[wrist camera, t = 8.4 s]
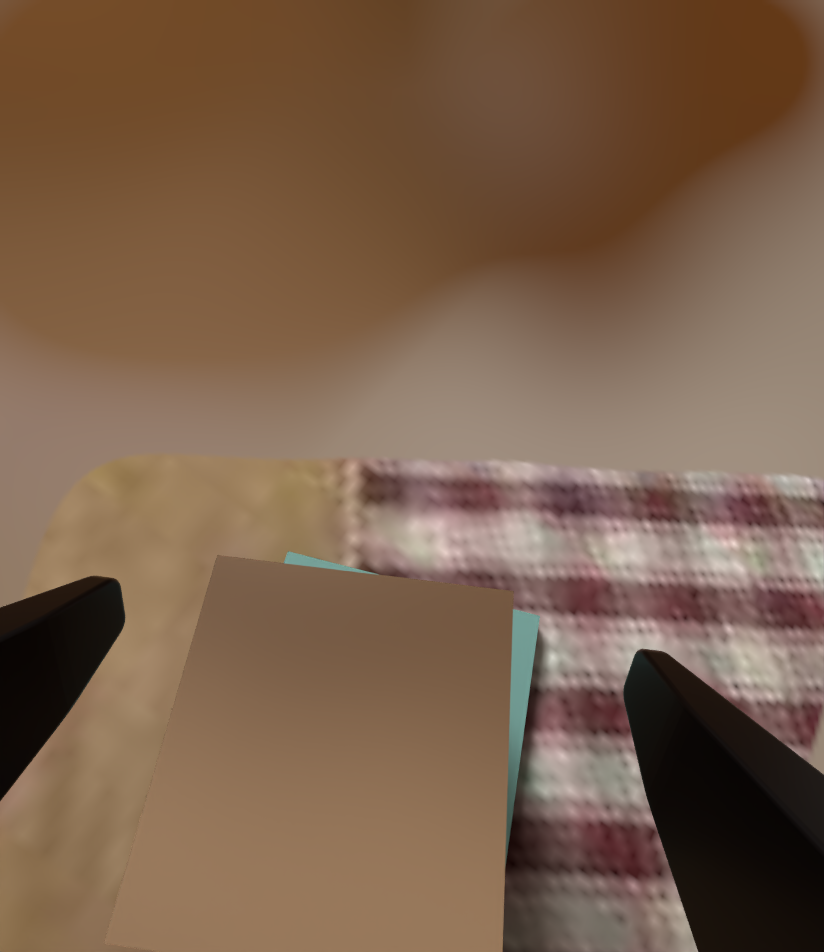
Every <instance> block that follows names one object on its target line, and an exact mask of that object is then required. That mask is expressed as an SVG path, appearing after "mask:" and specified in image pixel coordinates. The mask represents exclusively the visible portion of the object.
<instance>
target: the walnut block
mask: <svg viewBox="0 0 824 952" xmlns="http://www.w3.org/2000/svg"><path fill="white" fill-rule="evenodd" d="M513 594H514V591H507V590H499V589H491V588H483V587H475V586H466V585H458V584H450V583H442V582H434V581H425V580H417V579H409V578H401V577H393V576H384V575H376V574H368V573H360V572H352V571H343V570H335V569H327V568H319V567H311V566H302V565H294V564H286V563H278V562H270V561H261V560H253V559H245V558H237V557H229V556H220V555H217V558H216V561H215V565H214V568H213V571H212V575H211V578H210V582H209V585H208V588H207V592H206V595H205V599H204V602H203V606H202V609H201V612H200V616H199V619H198V623H197V626H196V629H195V633H194V636H193V640H192V643H191V647H190V650H189V653H188V657H187V660H186V664H185V667H184V670H183V674H182V677H181V681H180V684H179V688H178V691H177V694H176V698H175V701H174V705H173V708H172V711H171V715H170V718H169V722H168V725H167V729H166V732H165V735H164V739H163V742H162V746H161V749H160V752H159V756H158V759H157V763H156V766H155V770H154V773H153V776H152V780H151V783H150V787H149V790H148V793H147V797H146V800H145V804H144V807H143V810H142V814H141V817H140V821H139V824H138V828H137V831H136V834H135V838H134V841H133V845H132V848H131V851H130V855H129V858H128V862H127V865H126V869H125V872H124V875H123V879H122V882H121V886H120V889H119V892H118V896H117V899H116V903H115V906H114V910H113V913H112V916H111V920H110V923H109V927H108V930H107V933H106V937H105V940H104V944H111V945H117V946H123V947H130V948H136V949H143V950H149V951H155V952H502V951H503V919H504V886H505V854H506V821H507V789H508V756H509V724H510V691H511V659H512V626H513Z"/></svg>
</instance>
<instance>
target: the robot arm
mask: <svg viewBox="0 0 824 952" xmlns="http://www.w3.org/2000/svg"><path fill="white" fill-rule="evenodd" d="M124 623H125V611H124V604H123V598H122V592H121V586H120V583H119V582H118V580H116V579H114V578H109V577H102V576H89V577H86V578H83V579H81V580H78V581H75V582H72V583H69V584H66V585H63V586H61V587H58V588H55V589H52V590H49V591H46V592H43V593H41V594H38V595H35V596H32V597H29V598H26V599H23V600H21V601H18V602H15V603H12V604H9V605H6V606H3V607H1V608H0V801H1V800H2V798H3V797H4V796H5V795H6V793H7V792H8V791H9V789H10V788H11V787H12V786H13V784H14V783H15V782H16V780H17V779H18V778H19V776H20V775H21V774H22V773H23V771H24V770H25V769H26V767H27V766H28V765H29V764H30V762H31V761H32V760H33V758H34V757H35V756H36V755H37V753H38V752H39V751H40V749H41V748H42V747H43V746H44V744H45V743H46V742H47V740H48V739H49V738H50V736H51V735H52V734H53V733H54V731H55V730H56V729H57V727H58V726H59V725H60V723H61V722H62V721H63V719H64V718H65V717H66V715H67V714H68V713H69V711H70V710H71V708H72V707H73V705H74V704H75V702H76V701H77V700H78V698H79V697H80V695H81V693H82V692H83V690H84V689H85V687H86V686H87V684H88V683H89V681H90V679H91V678H92V676H93V675H94V673H95V672H96V670H97V669H98V667H99V665H100V664H101V662H102V661H103V659H104V658H105V656H106V654H107V653H108V651H109V650H110V648H111V647H112V645H113V644H114V642H115V640H116V639H117V637H118V636H119V634H120V633H121V631H122V629H123V626H124ZM623 695H624V702H625V707H626V711H627V715H628V720H629V724H630V728H631V733H632V737H633V741H634V746H635V750H636V754H637V759H638V763H639V767H640V772H641V776H642V780H643V784H644V788H645V792H646V796H647V799H648V802H649V806H650V809H651V812H652V815H653V818H654V821H655V824H656V827H657V830H658V833H659V836H660V839H661V842H662V845H663V848H664V851H665V854H666V857H667V860H668V863H669V866H670V869H671V872H672V875H673V878H674V881H675V884H676V887H677V890H678V893H679V896H680V899H681V902H682V905H683V908H684V911H685V913H686V916H687V919H688V922H689V925H690V928H691V931H692V934H693V937H694V940H695V943H696V946H697V949H698V952H824V775H823V774H822V773H821V772H820V771H818V770H817V769H816V768H814V767H813V766H812V765H811V764H809V763H808V762H807V761H805V760H804V759H803V758H802V757H800V756H799V755H798V754H796V753H795V752H794V751H792V750H791V749H790V748H789V747H787V746H786V745H785V744H783V743H782V742H781V741H780V740H778V739H777V738H776V737H774V736H773V735H772V734H771V733H769V732H768V731H767V730H765V729H764V728H763V727H761V726H760V725H759V724H758V723H756V722H755V721H754V720H752V719H751V718H750V717H749V716H747V715H746V714H745V713H743V712H742V711H741V710H740V709H738V708H737V707H736V706H734V705H733V704H732V703H730V702H729V701H728V700H727V699H725V698H724V697H723V696H721V695H720V694H719V693H718V692H716V691H715V690H714V689H712V688H711V687H710V686H709V685H707V684H706V683H705V682H703V681H702V680H701V679H699V678H698V677H697V676H696V675H694V674H693V673H692V672H690V671H689V670H688V669H687V668H685V667H684V666H683V665H681V664H680V663H679V662H678V661H676V660H675V659H674V658H672V657H671V656H670V655H668V654H667V653H665V652H662V651H656V650H648V649H640V650H638V651H637V652H636V654H635V656H634V659H633V661H632V664H631V667H630V670H629V673H628V676H627V679H626V682H625V685H624V693H623Z"/></svg>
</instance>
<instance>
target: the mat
mask: <svg viewBox="0 0 824 952" xmlns="http://www.w3.org/2000/svg"><path fill="white" fill-rule="evenodd" d="M284 563H286V564H294V565H302V566H311V567H319V568H327V569H335V570H343V571H352V572H360V573H368V574H374V573H370V572H366V571H363V570H359V569H355V568H351V567H347V566H343V565H339V564H335V563H331V562H328V561H324V560H320V559H316V558H312V557H308V556H304V555H300V554H296V553H293V552H289V551H288V553H287V556H286V558H285V561H284ZM376 575H378V574H376ZM539 618H540V616H538V615H534V614H530V613H526V612H522V611H518V610H514V609H513V626H512V659H511V691H510V724H509V756H508V789H507V821H506V854H505V867H506V859H507V852H508V845H509V838H510V830H511V823H512V816H513V808H514V801H515V794H516V786H517V779H518V772H519V764H520V757H521V750H522V742H523V735H524V728H525V720H526V713H527V706H528V698H529V691H530V684H531V677H532V669H533V662H534V655H535V647H536V640H537V633H538V625H539Z"/></svg>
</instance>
